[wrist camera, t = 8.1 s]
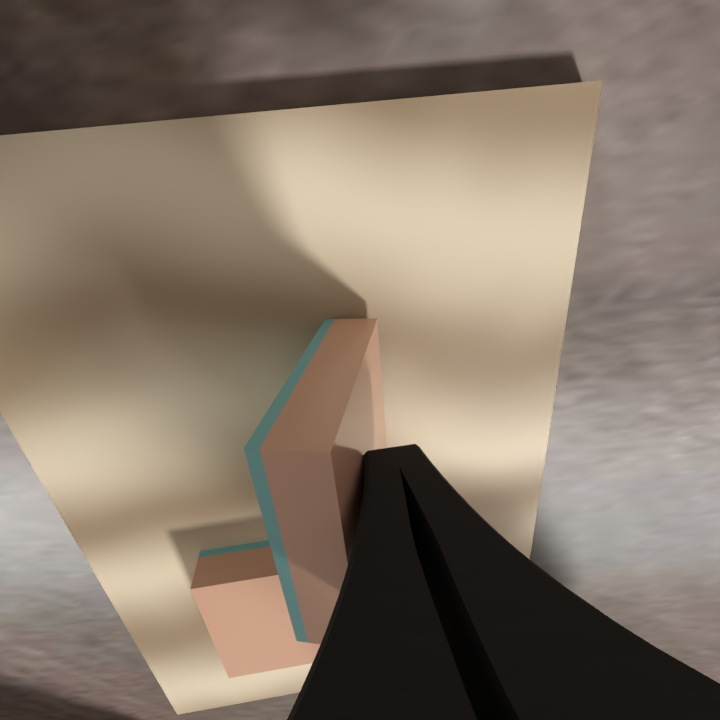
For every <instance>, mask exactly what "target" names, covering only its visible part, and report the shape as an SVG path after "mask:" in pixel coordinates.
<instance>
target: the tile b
mask: <svg viewBox="0 0 720 720" xmlns="http://www.w3.org/2000/svg"><path fill="white" fill-rule="evenodd" d="M383 448H387V444H386V430H385V416H384V402H383V388H382V375H381V361H380V347H379V333H378V319H377V318H365V319H325V320H324V322H323V323H322V325H321V327H320V328H319V330H318V331H317V333H316V334H315V336H314V338H313V339H312V341H311V342H310V344H309V346H308V347H307V349H306V350H305V352H304V353H303V355H302V357H301V358H300V360H299V361H298V363H297V365H296V366H295V368H294V369H293V371H292V372H291V374H290V376H289V377H288V379H287V380H286V382H285V384H284V385H283V387H282V388H281V390H280V391H279V393H278V395H277V396H276V398H275V399H274V401H273V403H272V404H271V406H270V407H269V409H268V410H267V412H266V414H265V415H264V417H263V418H262V420H261V422H260V423H259V425H258V426H257V428H256V429H255V431H254V433H253V434H252V436H251V437H250V439H249V441H248V442H247V444H246V445H245V447H244V451H245V455H246V459H247V462H248V466H249V470H250V473H251V477H252V481H253V484H254V488H255V492H256V495H257V499H258V503H259V506H260V510H261V513H262V517H263V521H264V524H265V528H266V532H267V535H268V539H269V543H270V546H271V550H272V554H273V557H274V561H275V565H276V568H277V572H278V576H279V579H280V583H281V587H282V590H283V594H284V598H285V601H286V605H287V608H288V612H289V616H290V619H291V623H292V627H293V630H294V634H295V638H296V641H299V642H306V643H314V644H321V642H322V639H323V637H324V634H325V632H326V629H327V626H328V624H329V621H330V618H331V615H332V613H333V610H334V607H335V604H336V601H337V599H338V596H339V593H340V590H341V586H342V583H343V580H344V577H345V574H346V570H347V567H348V563H349V560H350V556H351V552H352V548H353V544H354V540H355V535H356V531H357V527H358V522H359V517H360V511H361V505H362V498H363V491H364V480H365V466H364V457H363V455H364V454H365V453H366V452H367V451H369V450H376V449H383Z"/></svg>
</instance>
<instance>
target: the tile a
mask: <svg viewBox="0 0 720 720" xmlns="http://www.w3.org/2000/svg"><path fill="white" fill-rule="evenodd" d="M190 590H191V592H192V595H193V597H194V599H195V602H196V604H197V606H198V608H199V611H200V613H201V615H202V618H203V620H204V622H205V625H206V627H207V629H208V631H209V634H210V636H211V638H212V641H213V643H214V645H215V648H216V650H217V652H218V654H219V657H220V659H221V661H222V664H223V666H224V668H225V670H226V673H227V675H228V677H229V678H233V677H238V676H244V675H249V674H255V673H261V672H266V671H272V670H277V669H283V668H288V667H294V666H299V665H305V664H311V663H313V661H314V659H315V656H316V654H317V652H318V649H319V647H320V644H314V643H306V642H299V641H296V638H295V634H294V630H293V627H292V623H291V619H290V616H289V612H288V608H287V605H286V601H285V598H284V594H283V590H282V587H281V583H280V579H279V576H278V572H277V568H276V565H275V561H274V557H273V554H272V550H271V546H270V543H269V540H267V541H261V542H254V543H248V544H242V545H236V546H229V547H223V548H217V549H210V550H204V551H200V553H199V557H198V561H197V565H196V569H195V573H194V576H193V580H192V584H191V588H190Z"/></svg>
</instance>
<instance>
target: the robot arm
mask: <svg viewBox="0 0 720 720" xmlns="http://www.w3.org/2000/svg"><path fill="white" fill-rule="evenodd" d="M363 457H364V466H365V480H364V491H363V498H362V505H361V511H360V517H359V522H358V527H357V531H356V535H355V540H354V544H353V548H352V552H351V556H350V560H349V563H348V567H347V570H346V574H345V577H344V580H343V583H342V586H341V590H340V593H339V596H338V599H337V601H336V604H335V607H334V610H333V613H332V615H331V618H330V621H329V624H328V626H327V629H326V632H325V634H324V637H323V639H322V642H321V644H320V647H319V649H318V652H317V654H316V656H315V659H314V661H313V663H312V665H311V668H310V670H309V672H308V675H307V677H306V679H305V682H304V684H303V686H302V688H301V691H300V693H299V695H298V698H297V700H296V702H295V704H294V706H293V708H292V710H291V713H290V715H289V717H288V719H287V720H720V684H719V683H717V682H716V681H714V680H712V679H710V678H709V677H707V676H705V675H703V674H702V673H700V672H698V671H696V670H695V669H693V668H691V667H689V666H688V665H686V664H684V663H682V662H681V661H679V660H677V659H675V658H673V657H672V656H670V655H668V654H666V653H665V652H663V651H661V650H659V649H658V648H656V647H654V646H653V645H651V644H650V643H648V642H646V641H645V640H643V639H642V638H640V637H638V636H637V635H635V634H634V633H632V632H631V631H629V630H627V629H626V628H624V627H623V626H621V625H620V624H618V623H616V622H615V621H613V620H612V619H611V618H609V617H608V616H606V615H605V614H603V613H602V612H600V611H599V610H598V609H596V608H595V607H593V606H592V605H590V604H589V603H587V602H586V601H585V600H583V599H582V598H580V597H579V596H577V595H576V594H575V593H573V592H572V591H570V590H569V589H567V588H566V587H564V586H563V585H562V584H560V583H559V582H558V581H557V580H555V579H554V578H553V577H551V576H550V575H549V574H547V573H546V572H545V571H544V570H542V569H541V568H540V567H538V566H537V565H536V564H535V563H533V562H532V561H531V560H530V559H529V558H527V557H526V556H525V555H524V554H522V553H521V552H520V551H519V550H518V549H516V548H515V547H514V546H513V545H512V544H511V543H509V542H508V541H507V540H506V539H505V538H504V537H503V536H502V535H500V534H499V533H498V532H497V531H496V530H495V529H494V528H493V527H492V526H491V525H490V524H489V523H488V522H487V521H485V520H484V519H483V518H482V517H481V516H480V515H479V514H478V513H477V512H476V511H475V510H474V509H473V508H472V507H471V506H470V505H469V504H468V503H467V502H466V500H465V499H464V498H463V497H462V496H461V495H460V494H459V493H458V492H457V491H456V490H455V489H454V488H453V487H452V486H451V484H450V483H449V482H448V481H447V480H446V479H445V478H444V477H443V475H442V474H441V473H440V472H439V471H438V470H437V468H436V467H435V466H434V465H433V464H432V462H431V461H430V460H429V459H428V457H427V456H426V455H425V453H424V452H423V451H422V449H421V448H420V447H419V446H418V445H416V444H410V445H404V446H397V447H390V448H383V449H376V450H369V451H367V452H366V453H365V454H364V455H363Z"/></svg>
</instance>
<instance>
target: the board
mask: <svg viewBox="0 0 720 720" xmlns="http://www.w3.org/2000/svg"><path fill="white" fill-rule="evenodd" d="M602 82H603V80H601V81H591V82H580V83H569V84H558V85H547V86H536V87H525V88H514V89H503V90H492V91H481V92H470V93H459V94H448V95H437V96H426V97H415V98H404V99H393V100H383V101H372V102H361V103H350V104H339V105H328V106H317V107H306V108H295V109H284V110H273V111H262V112H251V113H240V114H229V115H218V116H207V117H196V118H185V119H174V120H164V121H153V122H142V123H131V124H120V125H109V126H98V127H87V128H76V129H65V130H54V131H43V132H32V133H21V134H10V135H0V413H1V415H2V416H3V418H4V420H5V421H6V423H7V425H8V427H9V428H10V430H11V432H12V433H13V435H14V437H15V438H16V440H17V442H18V444H19V445H20V447H21V449H22V450H23V452H24V454H25V456H26V457H27V459H28V461H29V462H30V464H31V466H32V467H33V469H34V471H35V473H36V474H37V476H38V478H39V479H40V481H41V483H42V485H43V486H44V488H45V490H46V491H47V493H48V495H49V496H50V498H51V500H52V502H53V503H54V505H55V507H56V508H57V510H58V512H59V513H60V515H61V517H62V519H63V520H64V522H65V524H66V525H67V527H68V529H69V531H70V532H71V534H72V536H73V537H74V539H75V541H76V542H77V544H78V546H79V548H80V549H81V551H82V553H83V554H84V556H85V558H86V560H87V561H88V563H89V565H90V566H91V568H92V570H93V571H94V573H95V575H96V577H97V578H98V580H99V582H100V583H101V585H102V587H103V589H104V590H105V592H106V594H107V595H108V597H109V599H110V600H111V602H112V604H113V606H114V607H115V609H116V611H117V612H118V614H119V616H120V618H121V619H122V621H123V623H124V624H125V626H126V628H127V629H128V631H129V633H130V635H131V636H132V638H133V640H134V641H135V643H136V645H137V646H138V648H139V650H140V652H141V653H142V655H143V657H144V658H145V660H146V662H147V664H148V665H149V667H150V669H151V670H152V672H153V674H154V675H155V677H156V679H157V681H158V682H159V684H160V686H161V687H162V689H163V691H164V693H165V694H166V696H167V698H168V699H169V701H170V703H171V704H172V706H173V708H174V710H175V711H176V713H177V715H178V714H184V713H189V712H195V711H200V710H206V709H211V708H216V707H222V706H227V705H233V704H238V703H244V702H249V701H254V700H260V699H265V698H271V697H276V696H282V695H287V694H292V693H298V692H300V691H301V688H302V686H303V684H304V682H305V679H306V677H307V675H308V672H309V670H310V668H311V665H312V663H311V664H305V665H299V666H294V667H288V668H283V669H277V670H272V671H266V672H261V673H255V674H249V675H244V676H238V677H233V678H229V677H228V675H227V673H226V670H225V668H224V666H223V664H222V661H221V659H220V657H219V654H218V652H217V650H216V648H215V645H214V643H213V641H212V638H211V636H210V634H209V631H208V629H207V627H206V625H205V622H204V620H203V618H202V615H201V613H200V611H199V608H198V606H197V604H196V602H195V599H194V597H193V595H192V592H191V590H190V588H191V584H192V580H193V576H194V573H195V569H196V565H197V561H198V557H199V553H200V551H204V550H210V549H217V548H223V547H229V546H236V545H242V544H248V543H254V542H261V541H267V540H269V539H268V535H267V532H266V528H265V524H264V521H263V517H262V513H261V510H260V506H259V503H258V499H257V495H256V492H255V488H254V484H253V481H252V477H251V473H250V470H249V466H248V462H247V459H246V455H245V451H244V447H245V445H246V444H247V442H248V441H249V439H250V437H251V436H252V434H253V433H254V431H255V429H256V428H257V426H258V425H259V423H260V422H261V420H262V418H263V417H264V415H265V414H266V412H267V410H268V409H269V407H270V406H271V404H272V403H273V401H274V399H275V398H276V396H277V395H278V393H279V391H280V390H281V388H282V387H283V385H284V384H285V382H286V380H287V379H288V377H289V376H290V374H291V372H292V371H293V369H294V368H295V366H296V365H297V363H298V361H299V360H300V358H301V357H302V355H303V353H304V352H305V350H306V349H307V347H308V346H309V344H310V342H311V341H312V339H313V338H314V336H315V334H316V333H317V331H318V330H319V328H320V327H321V325H322V323H323V322H324V320H325V319H365V318H377V319H378V333H379V347H380V361H381V375H382V388H383V402H384V416H385V430H386V444H387V448H390V447H397V446H404V445H410V444H416V445H418V446H419V447H420V448H421V449H422V451H423V452H424V453H425V455H426V456H427V457H428V459H429V460H430V461H431V462H432V464H433V465H434V466H435V467H436V468H437V470H438V471H439V472H440V473H441V474H442V475H443V477H444V478H445V479H446V480H447V481H448V482H449V483H450V484H451V486H452V487H453V488H454V489H455V490H456V491H457V492H458V493H459V494H460V495H461V496H462V497H463V498H464V499H465V500H466V502H467V503H468V504H469V505H470V506H471V507H472V508H473V509H474V510H475V511H476V512H477V513H478V514H479V515H480V516H481V517H482V518H483V519H484V520H485V521H487V522H488V523H489V524H490V525H491V526H492V527H493V528H494V529H495V530H496V531H497V532H498V533H499V534H500V535H502V536H503V537H504V538H505V539H506V540H507V541H508V542H509V543H511V544H512V545H513V546H514V547H515V548H516V549H518V550H519V551H520V552H521V553H522V554H524V555H525V556H526V557H527V558H529V559H530V554H531V548H532V541H533V535H534V528H535V522H536V515H537V508H538V502H539V495H540V489H541V482H542V476H543V469H544V463H545V456H546V449H547V443H548V436H549V430H550V423H551V417H552V410H553V404H554V397H555V390H556V384H557V377H558V371H559V364H560V358H561V351H562V345H563V338H564V332H565V325H566V318H567V312H568V305H569V299H570V292H571V286H572V279H573V273H574V266H575V259H576V253H577V246H578V240H579V233H580V227H581V220H582V214H583V207H584V200H585V194H586V187H587V181H588V174H589V168H590V161H591V155H592V148H593V141H594V135H595V128H596V122H597V115H598V109H599V102H600V96H601V89H602Z"/></svg>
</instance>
